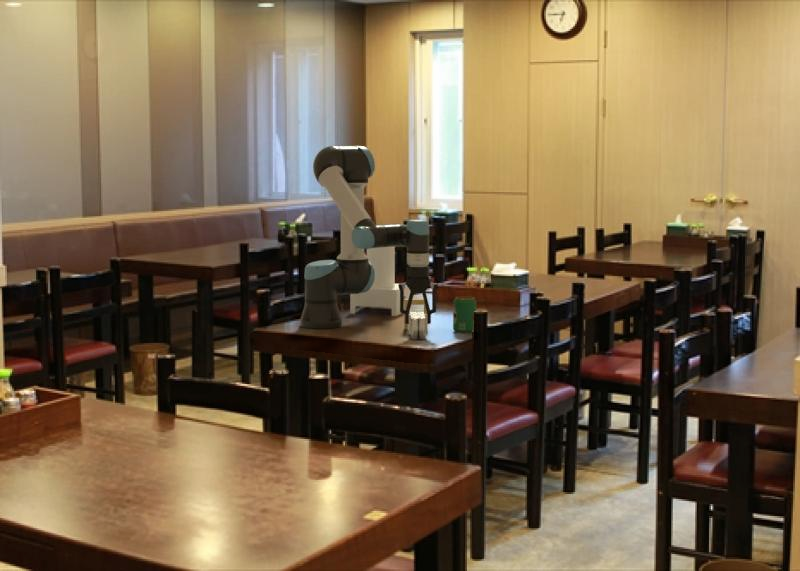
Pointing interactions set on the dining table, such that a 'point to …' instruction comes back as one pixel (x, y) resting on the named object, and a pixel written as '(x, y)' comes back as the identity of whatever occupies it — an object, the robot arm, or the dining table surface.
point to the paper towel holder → (381, 283)
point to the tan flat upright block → (414, 302)
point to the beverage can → (463, 314)
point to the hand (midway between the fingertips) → (417, 333)
